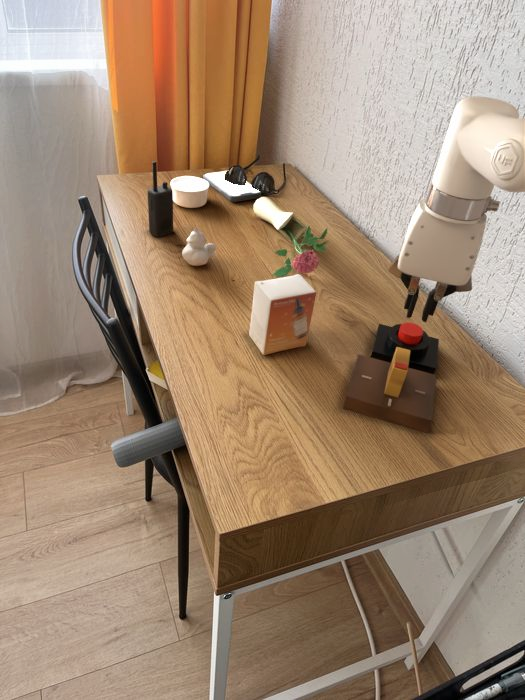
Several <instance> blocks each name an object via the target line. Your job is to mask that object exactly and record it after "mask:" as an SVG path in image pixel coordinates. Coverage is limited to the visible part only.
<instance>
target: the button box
mask: <svg viewBox="0 0 525 700" xmlns="http://www.w3.org/2000/svg"><path fill="white" fill-rule="evenodd" d="M402 324H403V323H396V324H394V325H392V326H390V325H386V324H383V323H379V324H378V326H377V330H376V333H375V337H374V341H373V345H372V349H371V352H370V356H369V357H371V358H374V359H378V360H382V361H386V362H389V363H391V362H392V359H393V356H394V353H395V350H396V347H400V348H404V349H407V350H410V358H409V365H408V368H412V369H415V370H419V371H423V372H426V373H430V374H434V375H435V373H436V370H437V366H438V356H439V343H440V339H439V338H437V337H432V336H429V335H428V333H427V332H426V331H425V330H423V335H422V338H421V340H420V342H419V343H418V344H414V345H411V344H407V343H404V342H403V341H401V340H400V339H399V338H398V332H399V329H400V326H401V325H402Z"/></svg>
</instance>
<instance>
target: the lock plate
mask: <svg viewBox="0 0 525 700" xmlns="http://www.w3.org/2000/svg"><path fill="white" fill-rule="evenodd" d="M390 365H391V363H389V362H386V361H382V360H378V359H374V358H371V357H370V356H366V355H363V354H360V353H358V354H357V356H356V360H355V364H354V367H353V370H352V374H351V377H350V381H349V385H348V388H347V392H346V395H345V399H344V403H343V406H342V409H344V410H347V411H349V412H354V413H356V414H361V415H364V416H368V417H371V418H375V419H378V420H381V421H386V422H389V423H393V424H395V425H399V426H402V427H406V428H409V429H413V430H416V431H420V432H423V433H428V432H429V430H430V427H431V425H432V423H433V419H434V409H435V408H434V407H435V393H436V383H437V375H436V374H435V373H434V374H430V373H426V372H423V371H419V370H415V369H412V368H408V372H407V375H406V377H405V380H404V383H403V386H402V388H401V391H400V394H399V397H398V398H397V397H393V396H390V395H386V394H384V392H385V387H386V381H387V376H388V371H389V368H390Z"/></svg>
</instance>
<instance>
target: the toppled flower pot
mask: <svg viewBox="0 0 525 700" xmlns="http://www.w3.org/2000/svg"><path fill="white" fill-rule="evenodd" d="M252 210H253V212H254V215H255V216H256V217H258V219H260V220H263V221H265V222H267V223H269V224H271V225H273V227H274V228H275V229H276V230H277V231H278V232H279V233H280V234H281V235H282V236H283V237H284V238H285V239H286V240H287V241H288V242H289V243H290V244H291V245H292V248H294V249H292V250H291V251H288V250H287V248H281V249H277V250H275V251H274V254H275V255H277V256H279V257H287V254H288V253H289V252H291V256H290V257H288V258H286V259H285V261H284V264H285V266H282V267H280V268H278V269H276V270H275V272H273V274H272V276H273V277H285V276H287V275H289V274H290V272H291V271H292V270H293V269H294V270H296V273H298V274H302V275H303V274H305V275H306V274H310V273H312V272H314V271H315V270H317V268H318V266H319V264H320V257H318V256H317V254H316V252H314V251H317V252H320V253H321V252H327V248H326V247H325V245H326V244H327V243H328V242H330V239H329V240H326V241H323V242H318V241H319V240H324V239H325V238H326V237H327V234H328V227H326V228H325V229H324V231H323V232H322V233H321V234H320V236H318V237H317V236H314V234H313V233H311V226H310V225H306V224H305V223H304V222H303V221H302V220H301V219H300V217H298V216H297V215H296V214H295V213H294V212H291V211H290V212H289V211H287V212H286V211H284V210H282V208H280V206H278V205H277V204H276V203H275V202H274V201H273V200H272V199H271V198H269V197H268V196H261V197H260V198H256V200H255V202H254V203H253V209H252ZM303 233H304V234H303ZM302 234H303V235H302ZM302 237H303V238H302ZM298 239H299V240H300V241H301V242H300V243H299V242H298ZM303 245H307V246H308V247H311V246H313V249H312V250H311V249H308V248H304V247H303ZM297 247H298V248H297ZM301 247H302V248H303V249H302V248H301ZM295 252H297V253H298V256H295V255H294V254H295ZM293 257H294V261H292V258H293ZM291 261H292V262H291ZM291 264H292V265H291Z"/></svg>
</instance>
